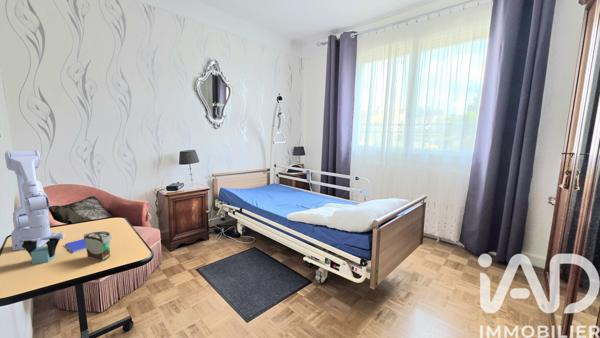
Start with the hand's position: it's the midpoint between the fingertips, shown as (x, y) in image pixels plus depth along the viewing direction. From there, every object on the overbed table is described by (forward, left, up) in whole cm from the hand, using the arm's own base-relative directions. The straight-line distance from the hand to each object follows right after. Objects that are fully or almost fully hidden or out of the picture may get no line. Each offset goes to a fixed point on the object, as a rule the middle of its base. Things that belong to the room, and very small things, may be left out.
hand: (43, 256), depth 103 cm
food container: (+21, -3, -2) cm, 21 cm away
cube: (0, 0, -1) cm, 1 cm away
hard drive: (+8, +11, -2) cm, 14 cm away
